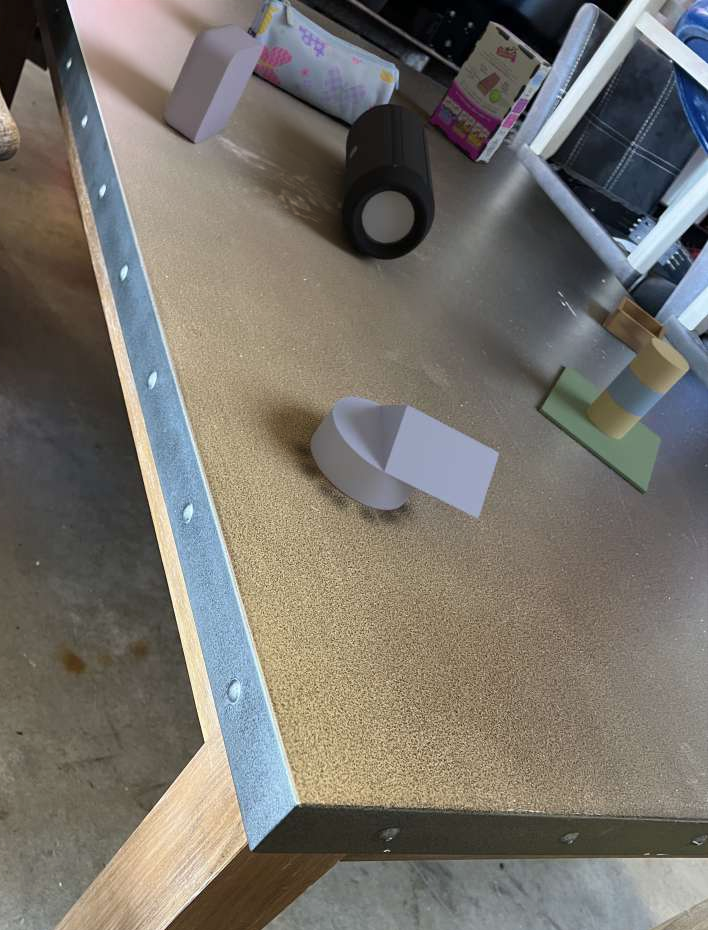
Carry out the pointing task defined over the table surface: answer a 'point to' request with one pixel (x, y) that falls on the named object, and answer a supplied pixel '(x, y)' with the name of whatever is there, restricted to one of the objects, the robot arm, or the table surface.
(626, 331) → the holder
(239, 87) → the mauve upright block
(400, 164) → the portable speaker
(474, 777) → the table surface
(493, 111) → the popsicle box
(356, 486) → the wedge on round base
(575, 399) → the mat
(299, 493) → the table surface
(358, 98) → the pencil case
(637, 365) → the tape stack
